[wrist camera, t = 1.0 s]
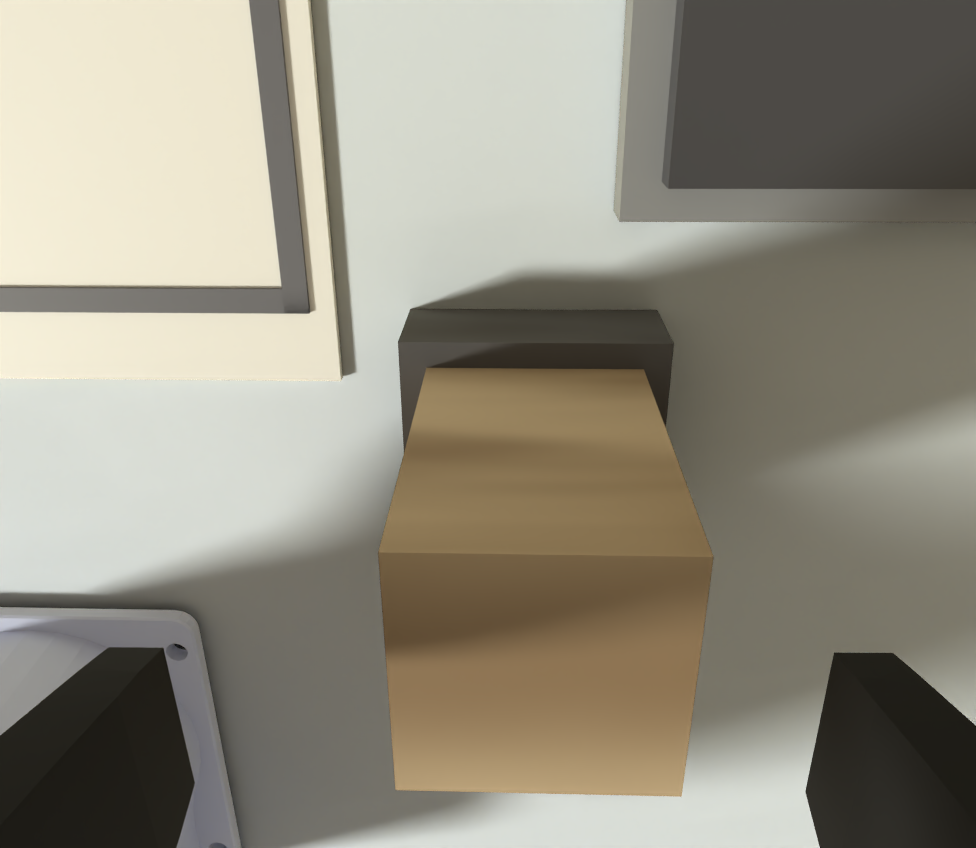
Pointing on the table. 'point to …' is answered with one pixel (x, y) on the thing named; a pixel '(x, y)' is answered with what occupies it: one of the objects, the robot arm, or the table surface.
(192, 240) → the marked card
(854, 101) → the ink pad
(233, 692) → the table surface
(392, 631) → the stamp
